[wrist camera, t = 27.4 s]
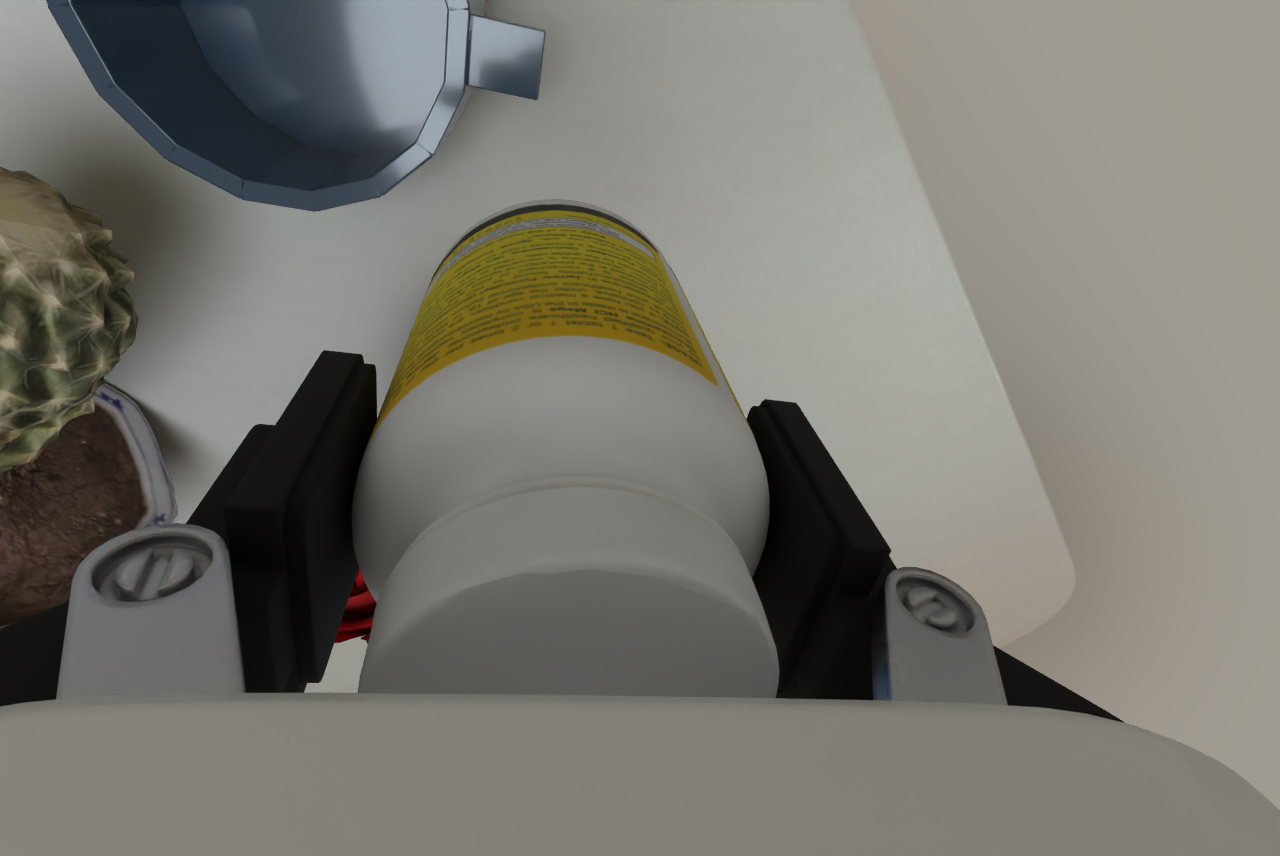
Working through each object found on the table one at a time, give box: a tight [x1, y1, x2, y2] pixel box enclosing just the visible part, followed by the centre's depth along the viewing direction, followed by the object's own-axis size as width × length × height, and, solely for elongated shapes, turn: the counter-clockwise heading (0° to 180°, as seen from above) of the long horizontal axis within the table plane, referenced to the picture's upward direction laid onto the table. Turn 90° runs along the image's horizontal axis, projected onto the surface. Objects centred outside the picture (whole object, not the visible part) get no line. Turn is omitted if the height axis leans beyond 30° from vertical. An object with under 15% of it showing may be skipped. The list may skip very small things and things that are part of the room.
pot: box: [46, 0, 545, 212], centre depth 27 cm, size 14×19×8 cm
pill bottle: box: [352, 199, 779, 698], centre depth 12 cm, size 6×6×11 cm
